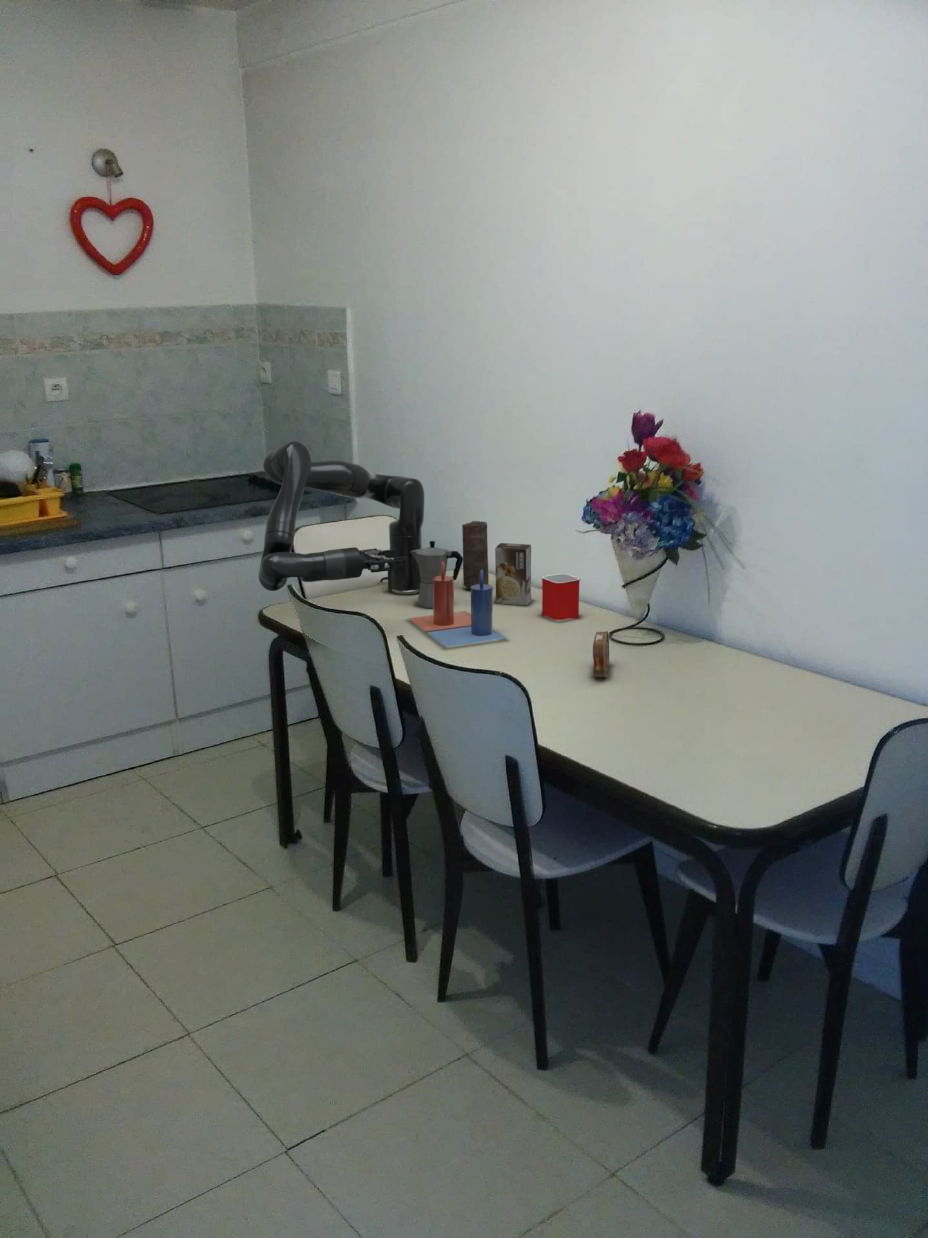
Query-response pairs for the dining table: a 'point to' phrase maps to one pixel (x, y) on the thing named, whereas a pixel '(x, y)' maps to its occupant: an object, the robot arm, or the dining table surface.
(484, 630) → the blue spoon cup
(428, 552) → the coffeepot
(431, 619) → the board
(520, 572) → the coffee box
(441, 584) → the terracotta spoon cup
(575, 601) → the mug
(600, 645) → the tin
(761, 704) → the dining table surface
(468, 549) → the candle
